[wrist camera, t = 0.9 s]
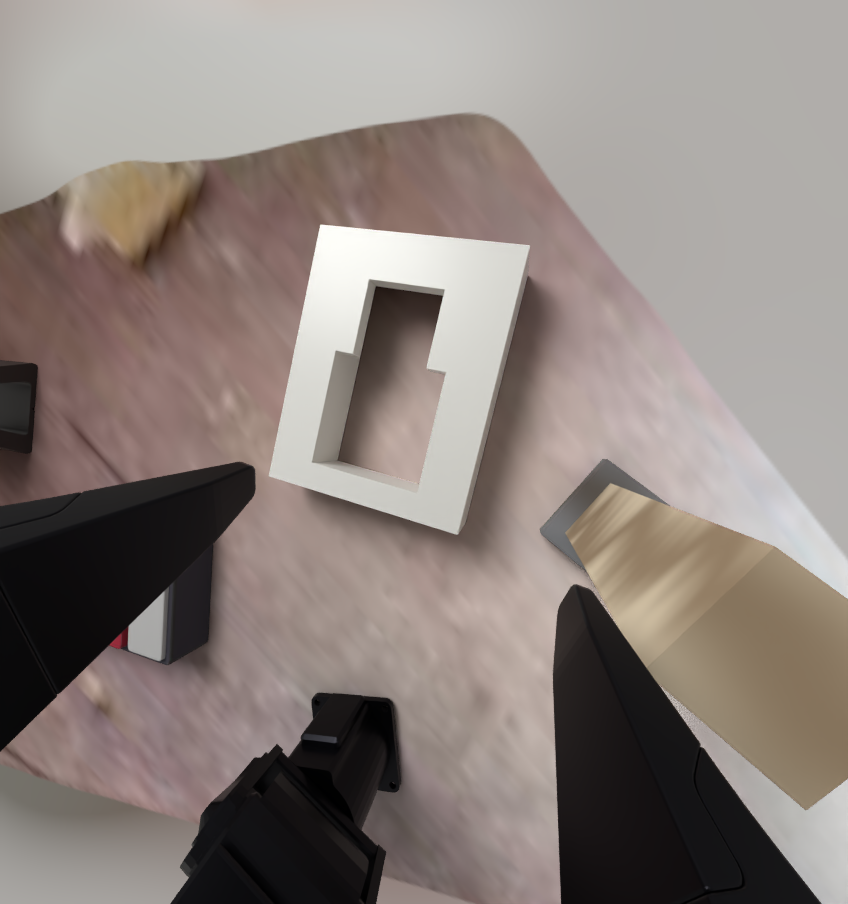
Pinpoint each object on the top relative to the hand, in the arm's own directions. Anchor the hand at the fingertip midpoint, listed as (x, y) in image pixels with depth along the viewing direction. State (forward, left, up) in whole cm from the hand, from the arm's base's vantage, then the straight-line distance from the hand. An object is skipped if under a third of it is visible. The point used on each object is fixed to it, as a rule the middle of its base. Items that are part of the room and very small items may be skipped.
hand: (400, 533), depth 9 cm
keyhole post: (-4, -8, -15) cm, 18 cm away
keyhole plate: (+7, +4, -15) cm, 17 cm away
